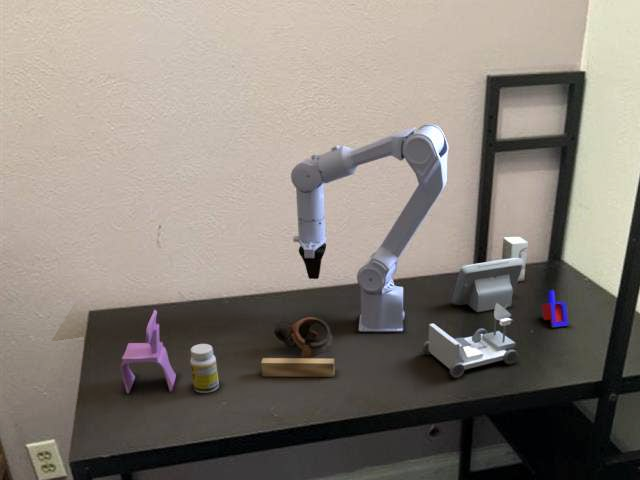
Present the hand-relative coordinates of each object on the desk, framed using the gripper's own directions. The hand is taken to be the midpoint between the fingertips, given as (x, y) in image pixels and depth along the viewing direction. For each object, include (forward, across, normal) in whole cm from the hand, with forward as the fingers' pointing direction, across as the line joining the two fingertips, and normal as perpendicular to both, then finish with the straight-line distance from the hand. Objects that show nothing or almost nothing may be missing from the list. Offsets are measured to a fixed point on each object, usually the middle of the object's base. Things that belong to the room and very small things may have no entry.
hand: (313, 277), depth 171 cm
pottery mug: (+10, +16, -1) cm, 19 cm away
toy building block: (+10, +2, +53) cm, 54 cm away
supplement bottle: (+10, +32, -18) cm, 38 cm away
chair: (+10, +31, -29) cm, 44 cm away
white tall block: (+10, -23, +47) cm, 53 cm away
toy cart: (+10, +19, +34) cm, 40 cm away
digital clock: (+10, -8, +39) cm, 41 cm away
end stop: (+9, +26, -1) cm, 28 cm away
